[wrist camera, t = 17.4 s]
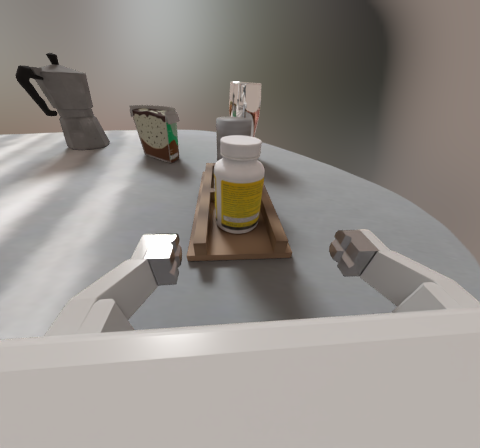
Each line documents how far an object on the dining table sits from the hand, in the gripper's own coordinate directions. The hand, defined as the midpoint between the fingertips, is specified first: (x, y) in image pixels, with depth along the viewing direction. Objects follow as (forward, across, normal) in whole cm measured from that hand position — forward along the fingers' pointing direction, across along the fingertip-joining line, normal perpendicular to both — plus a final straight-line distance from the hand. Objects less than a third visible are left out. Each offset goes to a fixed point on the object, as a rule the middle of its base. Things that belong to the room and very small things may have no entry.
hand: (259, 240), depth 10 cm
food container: (+40, -15, -9) cm, 44 cm away
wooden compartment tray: (+17, 0, -8) cm, 19 cm away
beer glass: (+42, +4, -9) cm, 43 cm away
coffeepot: (+47, -37, -9) cm, 60 cm away
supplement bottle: (+12, 0, -8) cm, 14 cm away
